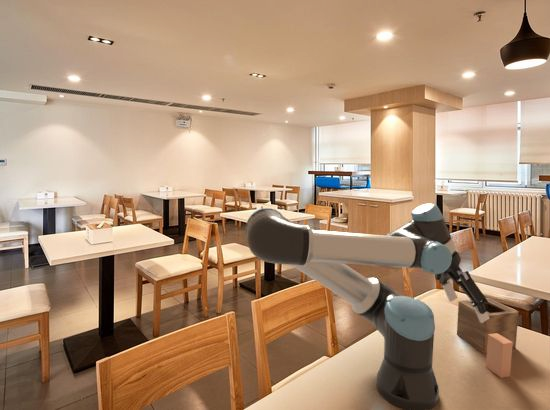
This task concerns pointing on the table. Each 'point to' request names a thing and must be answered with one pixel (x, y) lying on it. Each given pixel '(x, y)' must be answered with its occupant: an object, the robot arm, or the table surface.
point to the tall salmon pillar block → (499, 355)
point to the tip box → (486, 323)
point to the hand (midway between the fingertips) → (468, 309)
